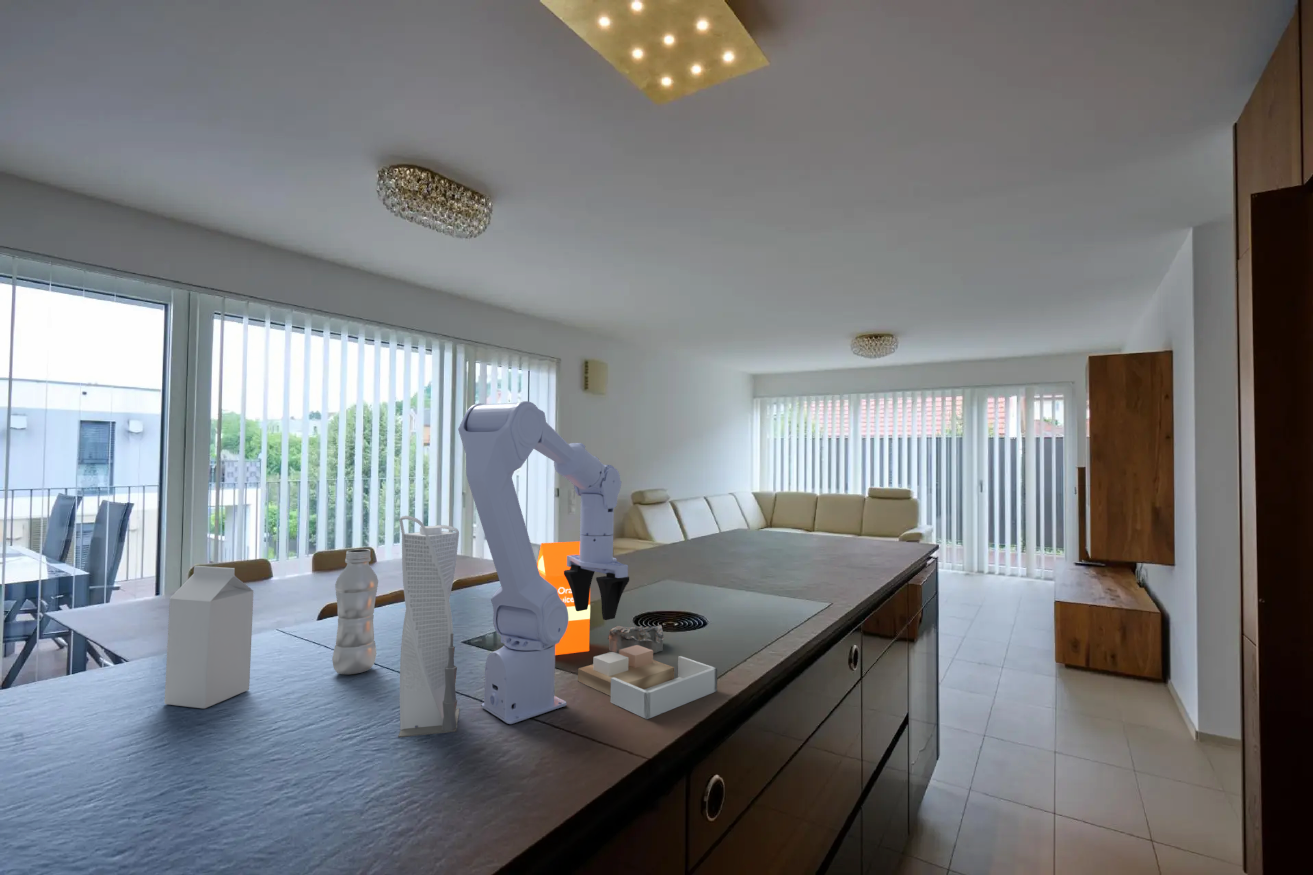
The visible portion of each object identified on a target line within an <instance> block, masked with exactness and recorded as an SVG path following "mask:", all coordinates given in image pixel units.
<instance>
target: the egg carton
mask: <svg viewBox="0 0 1313 875" xmlns="http://www.w3.org/2000/svg"><path fill="white" fill-rule="evenodd" d="M664 637H665V636H664V631H663V627H662V624H659V625H656V626H653V625H652V626H651V627H650V626H646V627H644V626H643V625H640V626H637V627H635V626H630V627H629V626H628V627H627V626H623V625H617V626H615V627H612V628H611V629H610V630H609V632H608V637H607V640H608V641H609V642H608V643H609V645H608V646H609V648H608V649H609V650H608V651H609V652H615V653H617V654H619V650H620V649H624V648H628V647H631V646H635V645H639V646H642V647H645V648H647V649H650V650H653V654H654V653H655V654H657V653H658V652H661V651H663V650H664V649H663V648H664V646H663V645H664V641H665V639H664Z"/></svg>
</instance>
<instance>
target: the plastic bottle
mask: <svg viewBox="0 0 1313 875" xmlns="http://www.w3.org/2000/svg"><path fill="white" fill-rule="evenodd" d="M345 554H346V555H345V560H344V562H345V563H346V566H345V567H344V569H343V570H342V571H341V572H340V574H339V575H338V577H337V579H336V580H335V584H334V587H335V588H334V591H335V595H336V596H335V597H336V605H337V606H336V607H337V631H336V638H335V645H334V649H333V652H332V658H331V659H332V665H333V666H332V667H333V670H334V671H335V672H336V673H337V674H340V675H356V674H360V673H363V672H366V671H369V670H371V669H372V668H373V666H374V664H375V662H376V658H377V647H376V641H375V630H374V629H375V628H374V613H375V604H376V598H377V592H378V587H379V580H378V575H377V574H376V572H375V571H374V569H373V568H372V566H371V565H370V564H369V562H371V560H372V557H371V549H367V548H362V549H361V548H360V549H349V550H346V553H345ZM345 563H344V564H345Z"/></svg>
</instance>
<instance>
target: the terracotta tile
mask: <svg viewBox="0 0 1313 875" xmlns="http://www.w3.org/2000/svg"><path fill="white" fill-rule="evenodd" d="M618 654H620V655H623V656H625V657H628V666H631V667H634V668H637V667H640V666H644V665H647V664H650V663H653V660H654V653H653V650H650V649H647V648H645V647H642V646H639V645H635V646H631V647H628V648H624V649H620V650H619V653H618Z"/></svg>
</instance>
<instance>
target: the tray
mask: <svg viewBox="0 0 1313 875" xmlns="http://www.w3.org/2000/svg"><path fill="white" fill-rule="evenodd" d="M677 660H678V661H677V677H676V678H675V677H674V679H672V680H670V681H667V682H664V683H661V684H658V685H655V686H653V687H650V688H647V689H641V688H639V687H636V686H634V685H632V684H629V683H627V682H624V681H622V680H620V679H617V678H615V677H613V678H611V696H610V704H613V705H615V706H617V707H620V708H621V709H624V710H626V711H629V712H630V713H633V714H635V715H636V716H639V717H641V718H643V719H644V720H649V719H651V718H654V717H656V716H659V715H662V714H663V713H666V712H669V711H671V710H673V709H676V708H678V707H681V706H684V705H686V704H688V703H690V702H693V701H696V700H698V699H701V698H703V697H706V696H708V695H711V694H714V693H716V692H718V667H715V666H712V665H710V664H709V665H708V664H705V663H703V662H700V661H697V660H693V659H691V658H688V657H685V656H682V655H680V656H679V655H678V657H677Z"/></svg>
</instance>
